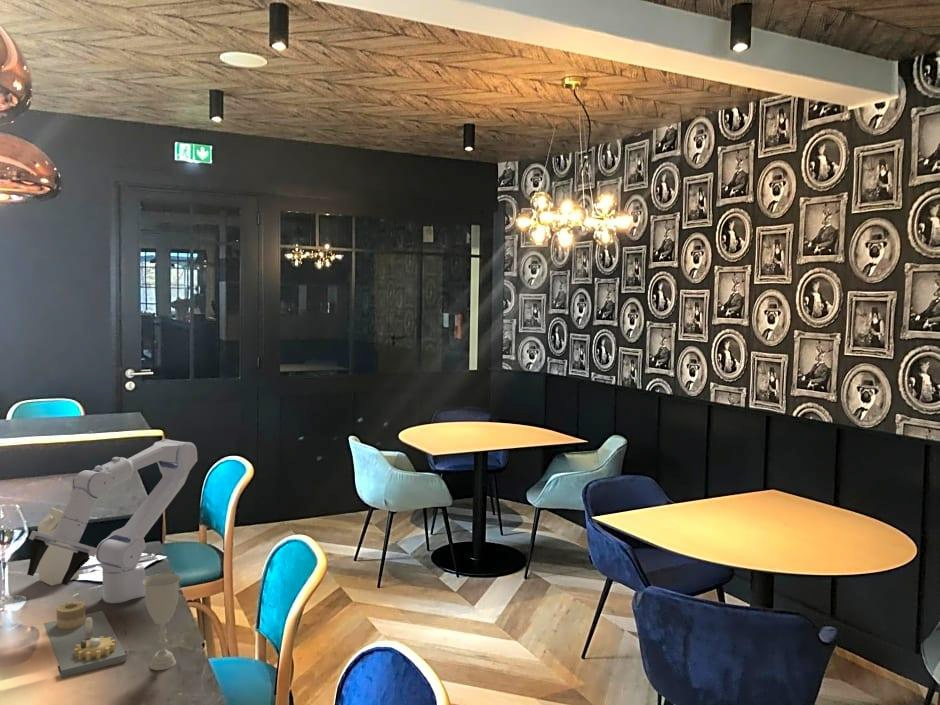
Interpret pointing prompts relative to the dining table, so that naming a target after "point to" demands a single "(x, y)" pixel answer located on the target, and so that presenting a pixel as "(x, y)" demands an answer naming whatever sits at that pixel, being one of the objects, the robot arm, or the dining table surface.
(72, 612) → the wooden ring spacer
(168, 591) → the chalice
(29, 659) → the dining table surface
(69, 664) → the gear board
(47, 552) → the milk carton
